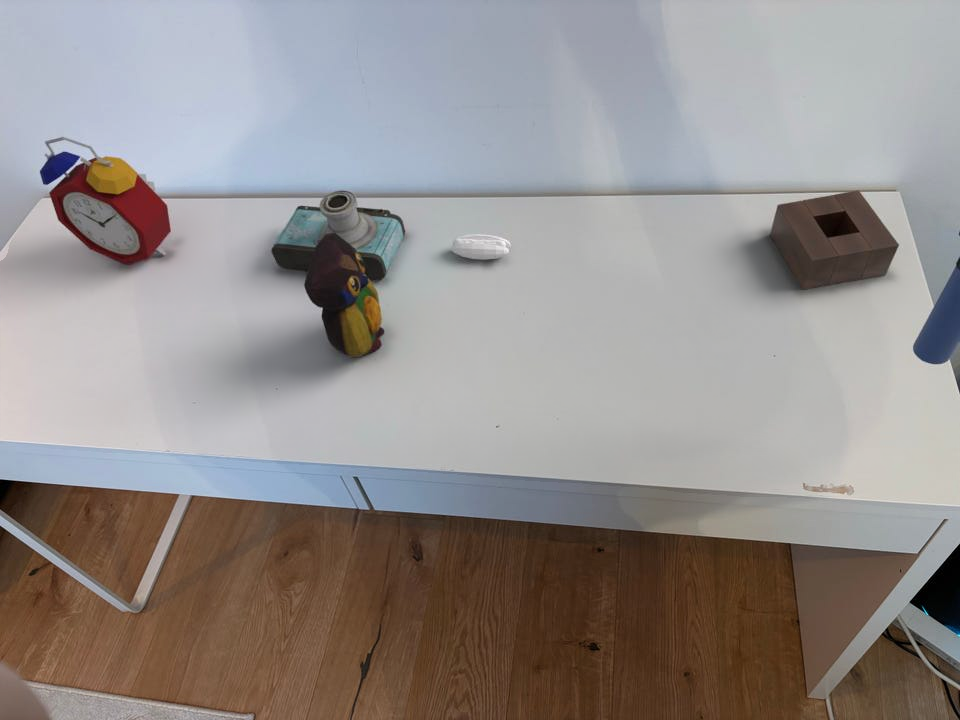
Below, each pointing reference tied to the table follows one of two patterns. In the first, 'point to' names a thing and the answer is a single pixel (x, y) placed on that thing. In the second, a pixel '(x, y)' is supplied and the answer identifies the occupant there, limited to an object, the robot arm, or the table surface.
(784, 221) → the holder
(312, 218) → the camera
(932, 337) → the handle
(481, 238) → the white oval lump
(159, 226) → the alarm clock
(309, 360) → the table surface
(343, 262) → the figurine
